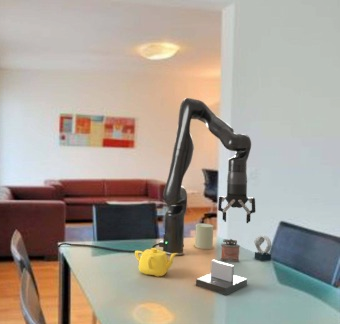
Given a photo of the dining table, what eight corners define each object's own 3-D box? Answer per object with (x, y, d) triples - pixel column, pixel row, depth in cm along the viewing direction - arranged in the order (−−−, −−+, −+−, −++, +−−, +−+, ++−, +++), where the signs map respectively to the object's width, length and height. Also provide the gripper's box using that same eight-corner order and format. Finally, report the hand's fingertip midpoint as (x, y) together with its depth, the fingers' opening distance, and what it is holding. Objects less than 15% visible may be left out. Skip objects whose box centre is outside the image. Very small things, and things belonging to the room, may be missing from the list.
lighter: (237, 260, 180) (238, 238, 179) (239, 262, 176) (240, 240, 176) (219, 259, 180) (220, 238, 180) (221, 261, 177) (222, 239, 177)
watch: (260, 256, 187) (261, 234, 186) (273, 261, 179) (274, 237, 179) (251, 257, 185) (252, 234, 184) (264, 262, 177) (265, 238, 177)
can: (192, 244, 206) (192, 222, 206) (208, 244, 207) (209, 222, 207) (198, 249, 197) (199, 226, 197) (215, 249, 198) (216, 226, 197)
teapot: (162, 267, 166) (163, 243, 166) (177, 277, 154) (178, 251, 153) (133, 269, 162) (133, 245, 162) (146, 279, 150) (147, 253, 149)
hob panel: (226, 295, 135) (226, 288, 135) (195, 285, 145) (195, 278, 145) (247, 285, 146) (248, 278, 146) (217, 276, 156) (217, 270, 155)
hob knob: (233, 281, 143) (234, 264, 143) (231, 282, 142) (232, 265, 141) (212, 275, 149) (213, 259, 149) (210, 276, 148) (211, 260, 148)
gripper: (255, 182, 158) (254, 221, 159) (218, 181, 163) (218, 219, 164) (256, 184, 151) (255, 225, 152) (218, 182, 156) (217, 222, 157)
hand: (236, 222), depth 158 cm, fingers open, 8 cm apart
